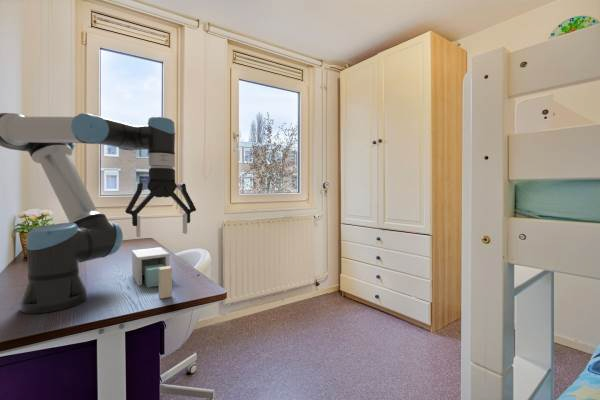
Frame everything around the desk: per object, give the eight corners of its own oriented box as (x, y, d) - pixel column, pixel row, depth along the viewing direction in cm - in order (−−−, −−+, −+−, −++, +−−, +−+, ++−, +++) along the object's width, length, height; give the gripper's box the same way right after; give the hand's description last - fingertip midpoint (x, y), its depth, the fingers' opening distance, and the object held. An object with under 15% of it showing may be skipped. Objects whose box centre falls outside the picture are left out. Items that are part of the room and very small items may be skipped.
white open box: (138, 285, 104) (137, 257, 103) (132, 275, 116) (131, 250, 116) (169, 280, 110) (169, 253, 109) (161, 271, 122) (160, 247, 122)
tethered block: (156, 299, 89) (155, 270, 89) (144, 283, 106) (144, 258, 105) (176, 295, 93) (176, 267, 93) (162, 279, 109) (162, 255, 109)
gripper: (116, 165, 83) (117, 240, 83) (205, 169, 97) (205, 233, 98) (114, 166, 89) (115, 236, 90) (198, 170, 103) (199, 230, 104)
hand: (162, 234), depth 94 cm, fingers open, 13 cm apart
